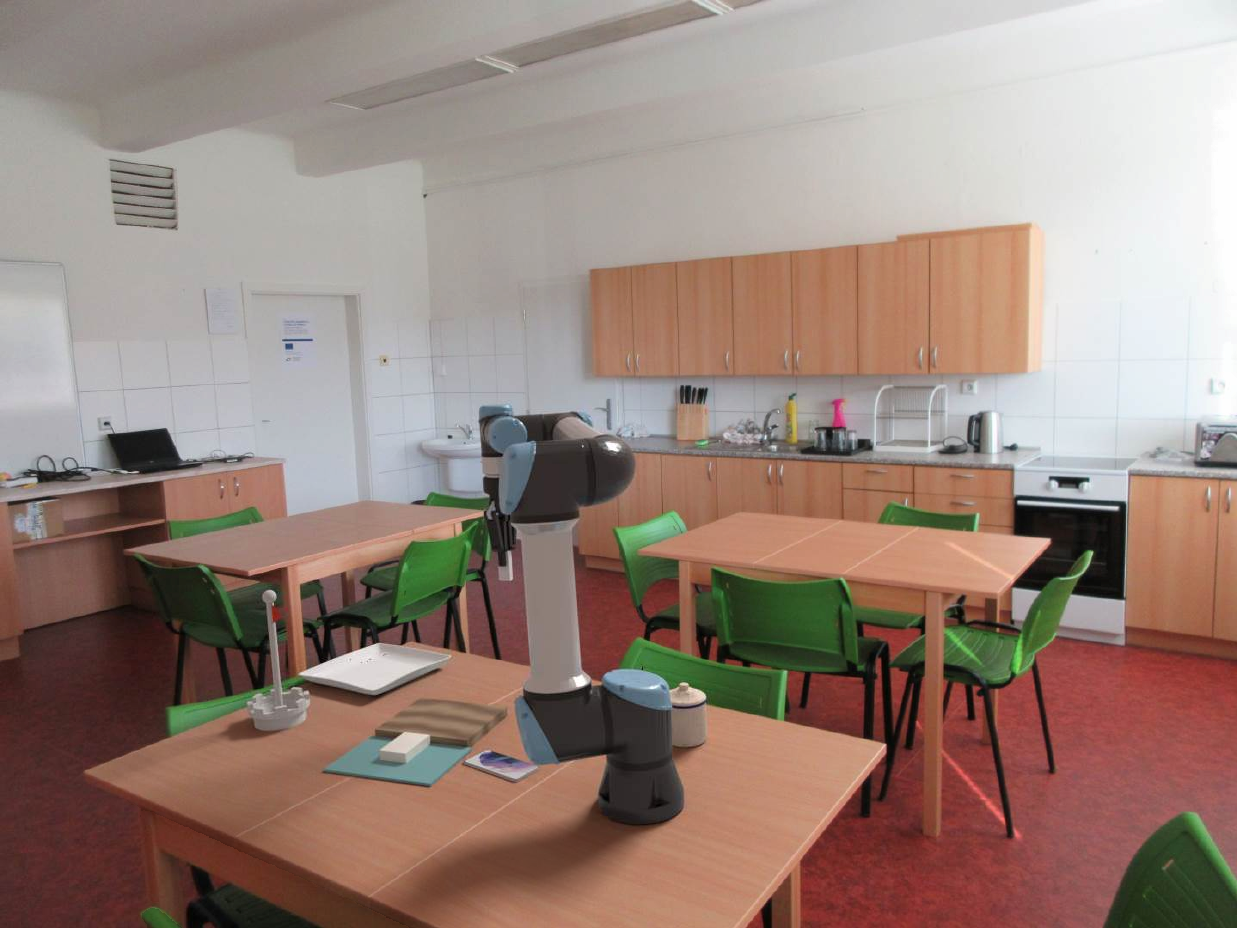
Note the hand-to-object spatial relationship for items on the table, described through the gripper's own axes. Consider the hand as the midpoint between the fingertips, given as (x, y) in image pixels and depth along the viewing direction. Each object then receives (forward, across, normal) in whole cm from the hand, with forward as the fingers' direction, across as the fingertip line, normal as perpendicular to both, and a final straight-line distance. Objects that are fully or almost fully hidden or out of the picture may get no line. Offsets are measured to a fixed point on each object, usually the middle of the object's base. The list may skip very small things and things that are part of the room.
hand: (505, 579), depth 205 cm
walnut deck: (+29, +14, -10) cm, 34 cm away
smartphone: (+30, +28, +11) cm, 42 cm away
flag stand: (+30, +20, -48) cm, 60 cm away
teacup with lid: (+30, +7, +41) cm, 51 cm away
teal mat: (+29, +31, -10) cm, 44 cm away
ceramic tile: (+29, +28, -10) cm, 42 cm away
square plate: (+30, -10, -43) cm, 53 cm away
